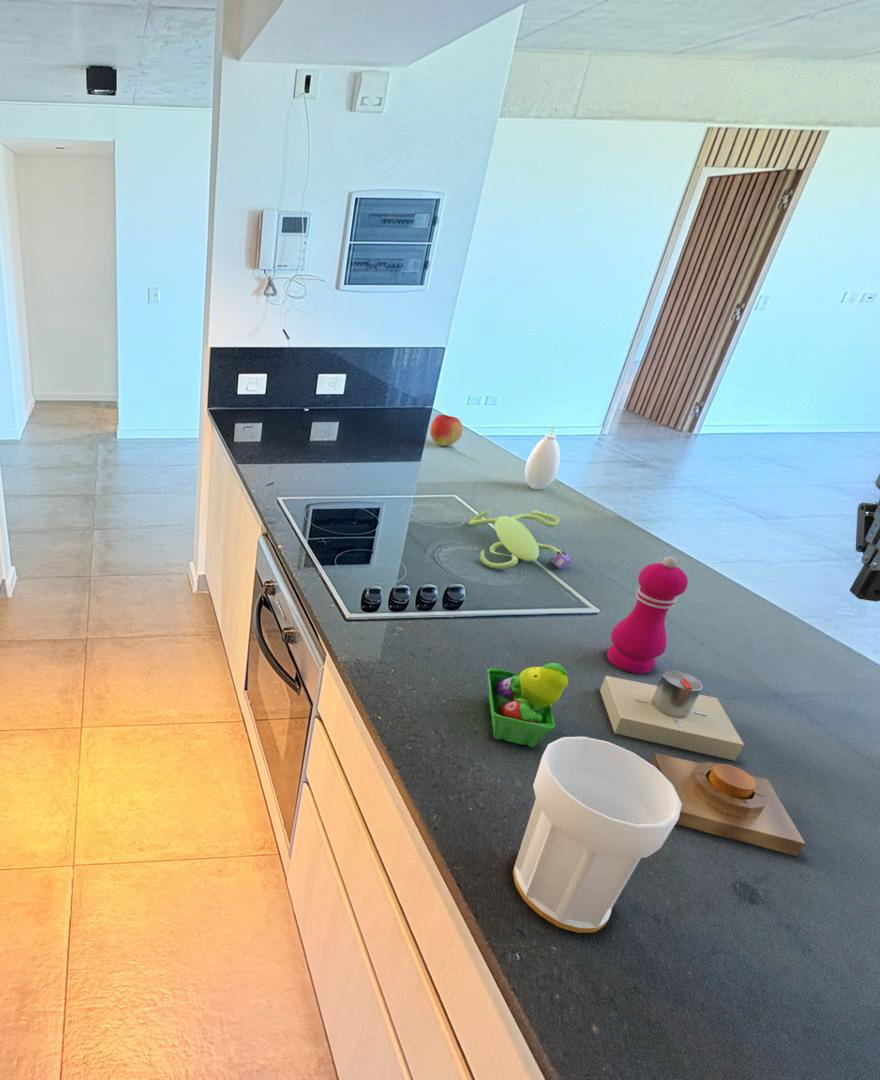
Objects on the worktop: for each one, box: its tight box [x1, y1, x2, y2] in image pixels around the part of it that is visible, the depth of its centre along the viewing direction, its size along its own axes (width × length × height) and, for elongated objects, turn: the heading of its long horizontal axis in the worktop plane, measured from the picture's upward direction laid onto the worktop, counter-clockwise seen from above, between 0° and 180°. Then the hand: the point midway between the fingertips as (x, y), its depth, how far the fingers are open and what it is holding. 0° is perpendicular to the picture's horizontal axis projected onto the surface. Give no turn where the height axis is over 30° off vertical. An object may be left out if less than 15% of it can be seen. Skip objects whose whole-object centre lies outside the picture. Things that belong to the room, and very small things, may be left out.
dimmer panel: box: [599, 675, 745, 762], centre depth 89 cm, size 14×10×3 cm
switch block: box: [649, 752, 806, 857], centre depth 76 cm, size 12×10×4 cm
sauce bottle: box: [524, 425, 561, 491], centre depth 168 cm, size 8×8×18 cm
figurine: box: [467, 509, 572, 570], centre depth 139 cm, size 18×27×6 cm
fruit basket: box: [486, 662, 569, 748], centre depth 88 cm, size 11×9×11 cm
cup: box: [512, 736, 682, 934], centre depth 64 cm, size 11×11×17 cm
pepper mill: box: [606, 556, 689, 675], centre depth 98 cm, size 7×7×20 cm
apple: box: [429, 414, 463, 447], centre depth 205 cm, size 10×10×10 cm
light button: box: [708, 763, 756, 800], centre depth 75 cm, size 4×4×2 cm
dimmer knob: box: [652, 669, 703, 718], centre depth 88 cm, size 4×4×5 cm
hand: (864, 597), depth 70 cm, fingers closed
